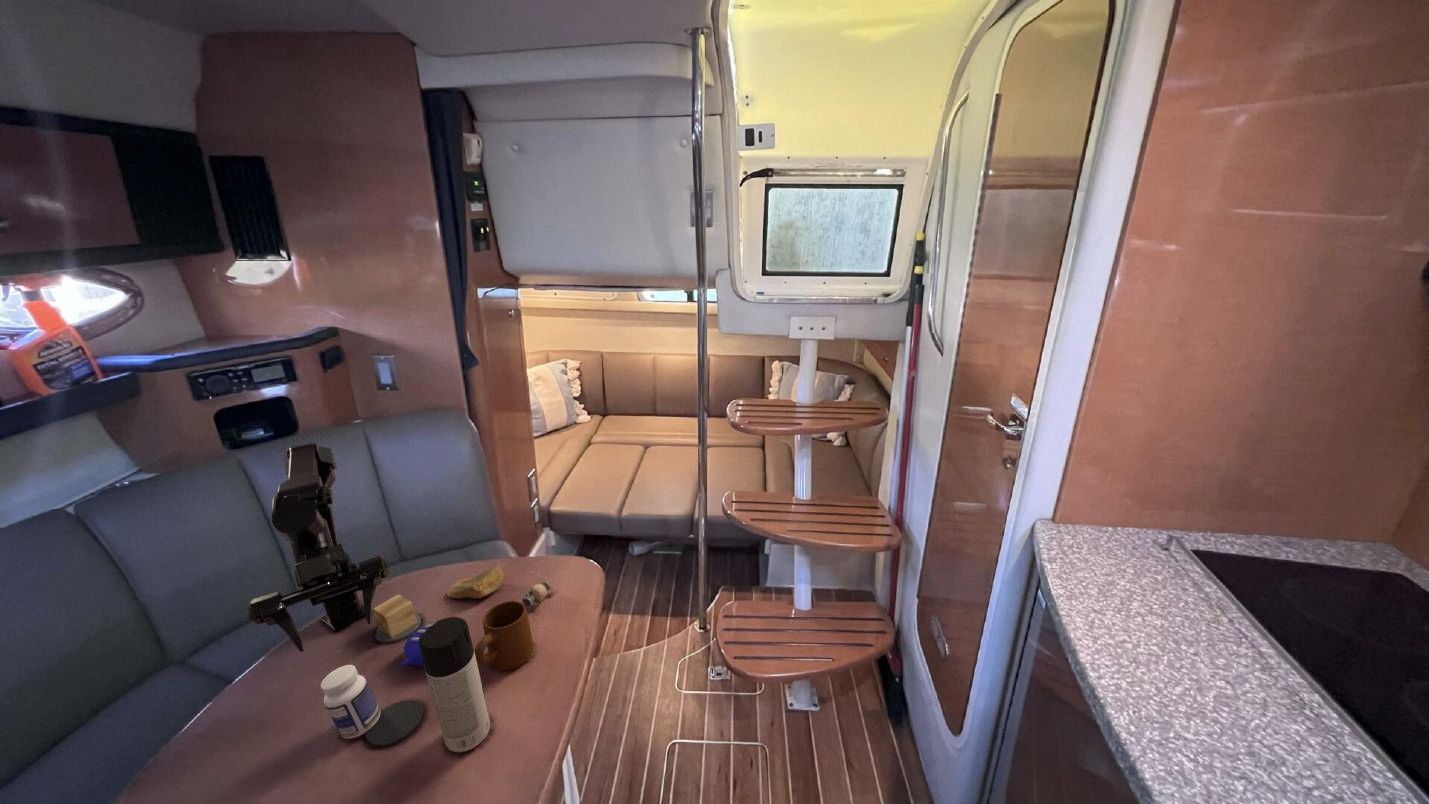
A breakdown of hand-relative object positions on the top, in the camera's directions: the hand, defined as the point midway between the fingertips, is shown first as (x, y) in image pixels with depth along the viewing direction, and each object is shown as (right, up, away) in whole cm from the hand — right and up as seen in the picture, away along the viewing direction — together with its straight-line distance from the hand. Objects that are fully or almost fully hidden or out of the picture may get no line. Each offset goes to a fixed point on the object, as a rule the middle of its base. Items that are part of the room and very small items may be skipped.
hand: (336, 637), depth 87 cm
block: (-2, -6, +19) cm, 21 cm away
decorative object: (+10, -9, +12) cm, 18 cm away
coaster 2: (+11, -13, -1) cm, 17 cm away
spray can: (+23, -14, -4) cm, 27 cm away
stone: (+14, -1, +27) cm, 30 cm away
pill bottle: (+5, -13, -1) cm, 15 cm away
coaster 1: (-1, -7, +20) cm, 21 cm away
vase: (+27, +1, +26) cm, 37 cm away
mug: (+24, -9, +10) cm, 27 cm away
